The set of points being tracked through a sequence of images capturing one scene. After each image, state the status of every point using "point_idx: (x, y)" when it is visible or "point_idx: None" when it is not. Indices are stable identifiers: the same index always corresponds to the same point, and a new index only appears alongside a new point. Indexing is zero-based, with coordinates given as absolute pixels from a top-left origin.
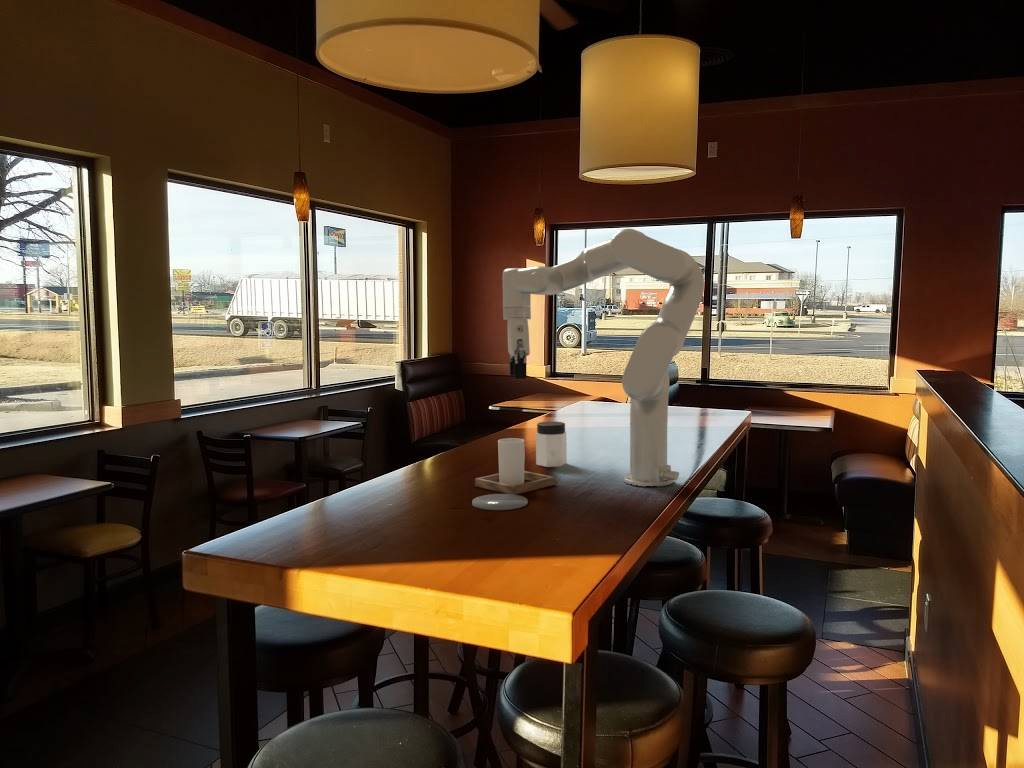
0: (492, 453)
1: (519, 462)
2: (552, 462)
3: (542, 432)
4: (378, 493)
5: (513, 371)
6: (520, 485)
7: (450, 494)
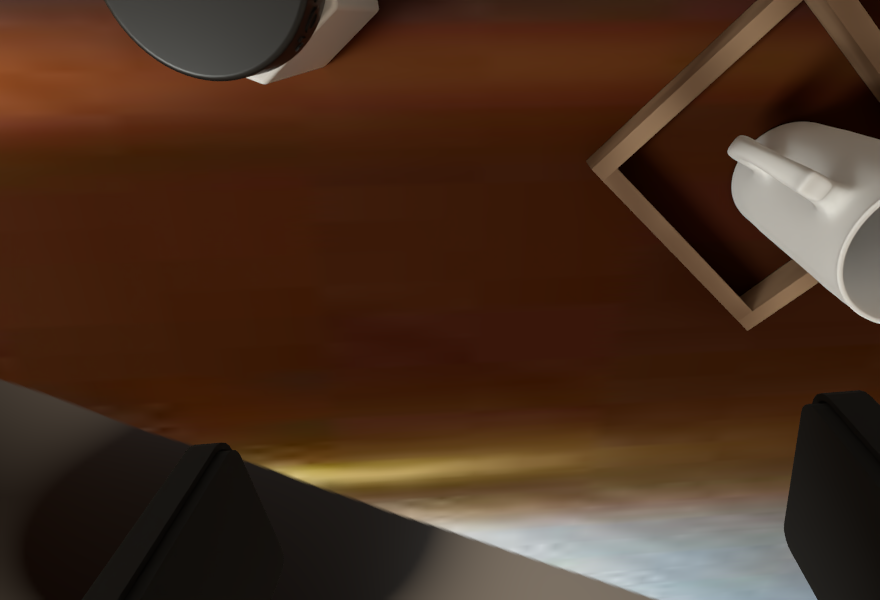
0: (102, 276)
1: None
2: None
3: (311, 34)
4: (754, 556)
5: (252, 580)
6: None
7: (840, 385)
